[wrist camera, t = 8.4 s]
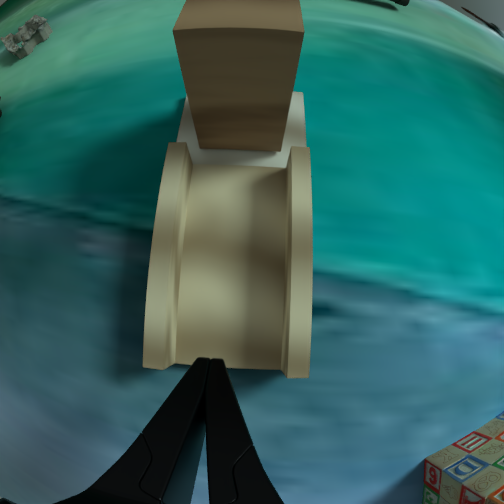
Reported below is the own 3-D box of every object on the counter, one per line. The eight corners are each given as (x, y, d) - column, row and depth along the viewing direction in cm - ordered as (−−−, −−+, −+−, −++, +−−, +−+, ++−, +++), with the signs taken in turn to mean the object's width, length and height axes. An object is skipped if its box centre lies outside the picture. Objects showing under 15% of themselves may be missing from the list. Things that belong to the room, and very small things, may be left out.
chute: (302, 367, 19) (315, 377, 15) (156, 358, 19) (136, 366, 15) (301, 99, 24) (308, 68, 20) (189, 95, 24) (183, 64, 20)
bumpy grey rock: (7, 52, 29) (-2, 38, 25) (39, 25, 30) (31, 10, 26) (20, 64, 27) (8, 48, 23) (57, 33, 28) (48, 15, 24)
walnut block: (280, 151, 21) (304, 32, 11) (199, 148, 21) (172, 30, 10) (280, 94, 23) (296, -16, 12) (209, 92, 23) (195, -17, 12)
